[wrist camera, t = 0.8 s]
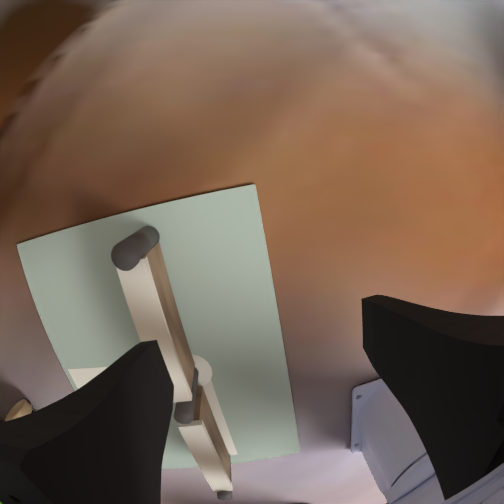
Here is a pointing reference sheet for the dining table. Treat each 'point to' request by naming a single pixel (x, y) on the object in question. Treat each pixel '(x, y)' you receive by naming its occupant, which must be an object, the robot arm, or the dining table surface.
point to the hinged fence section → (154, 304)
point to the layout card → (190, 311)
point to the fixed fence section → (205, 440)
